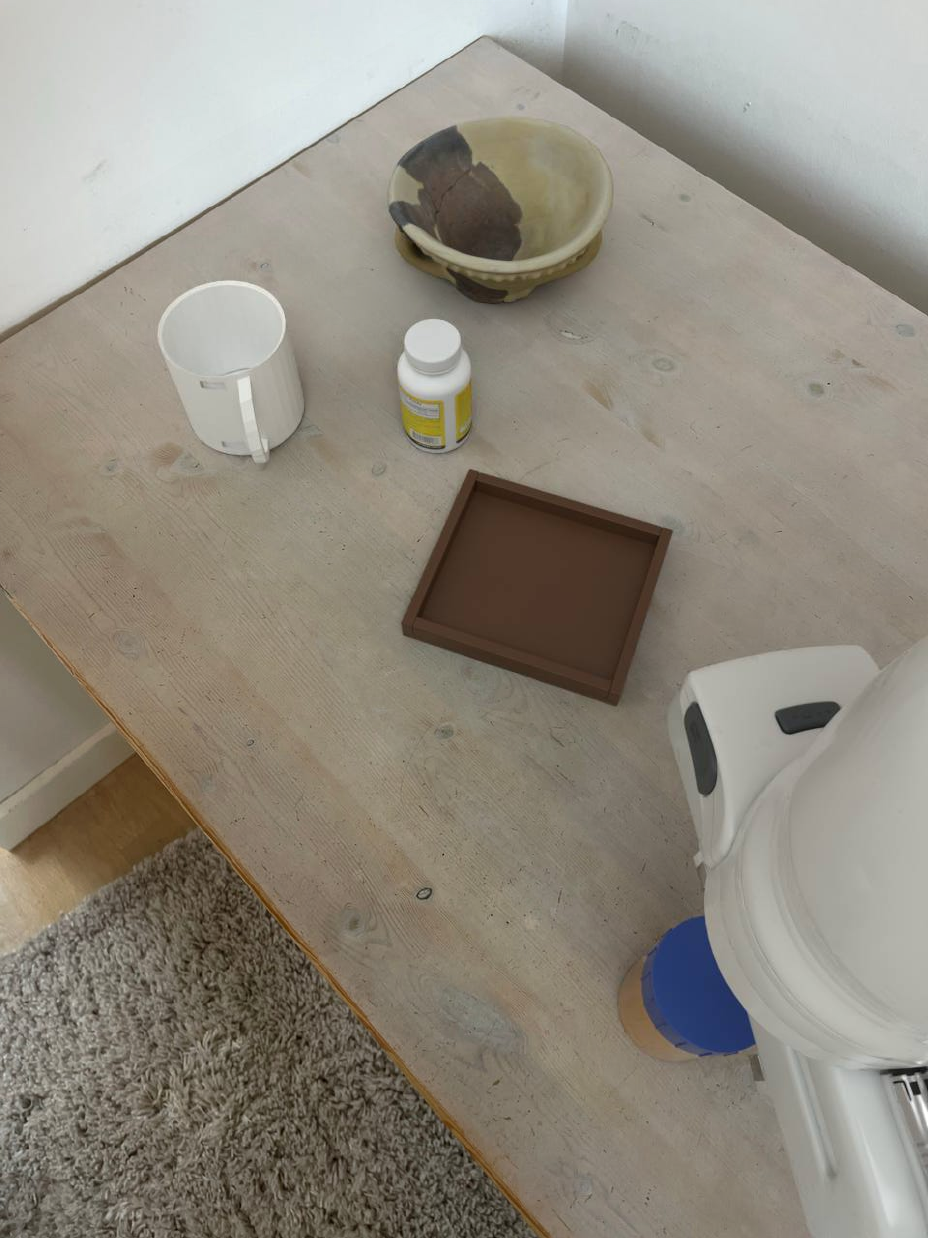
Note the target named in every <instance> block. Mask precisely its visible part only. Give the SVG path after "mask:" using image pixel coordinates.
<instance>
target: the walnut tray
mask: <svg viewBox="0 0 928 1238" xmlns="http://www.w3.org/2000/svg"><path fill="white" fill-rule="evenodd" d="M673 532H674V530H673V529H671V528H667V527H665V526H660V525H657V524H654V523H650V522H647V521H644V520H640V519H637V518H633V517H630V516H628V515H624V514H621V513H618V512H615V511H610V510H607V509H604V508H601V507H599V506H598V507H597V506H594V505H591V504H587V503H584V502H581V501H578V500H574V499H571V498H568V497H564V496H561V495H558V494H554V493H551V492H548V491H545V490H542V489H541V490H540V489H538V488H534V487H531V486H528V485H524V484H521V483H518V482H515V481H511V480H509V479H505V478H502V477H498V476H494V475H491V474H488V473H485V472H481V471H478V470H475V469H473V468H468V471H467V472H466V475H465V477H464V480H463V482H462V484H461V486H460V489H459V491H458V494H457V496H456V498H455V500H454V502H453V504H452V507H451V508H450V511H449V514H448V516H447V517H446V520H445V522H444V525H443V527H442V530H441V531H440V534H439V536H438V539H437V540H436V543H435V545H434V548H433V550H432V552H431V553H430V557H429V559H428V561H427V564H426V566H425V567H424V570H423V572H422V575H421V577H420V579H419V581H418V584H417V586H416V587H415V591H414V593H413V595H412V597H411V599H410V601H409V604H408V606H407V608H406V611H405V613H404V615H403V617H402V620H401V631H402V635H403V636H404V637H407V638H410V639H412V640H416V641H419V642H422V643H425V644H428V645H431V646H434V647H437V648H440V649H443V650H446V651H448V652H452V653H455V654H458V655H461V656H464V657H468V658H470V659H472V660H476V661H478V662H481V663H485V664H487V665H491V666H495V667H496V668H500V669H503V670H506V671H509V672H512V673H515V674H517V675H521V676H524V677H527V678H530V679H533V680H536V681H539V682H542V683H545V684H548V685H551V686H554V687H557V688H559V689H563V690H565V691H569V692H571V693H574V694H577V695H581V696H583V697H587V698H589V699H593V700H596V701H599V702H602V703H604V704H608V705H611V706H614V707H617V706H618V704H619V701H620V698H621V695H622V693H623V691H624V687H625V683H626V680H627V677H628V673H629V671H630V669H631V664H632V662H633V658H634V655H635V653H636V649H637V646H638V642H639V640H640V636H641V633H642V631H643V627H644V623H645V621H646V618H647V615H648V611H649V608H650V605H651V601H652V599H653V595H654V592H655V589H656V585H657V583H658V580H659V576H660V573H661V570H662V567H663V564H664V561H665V558H666V554H667V551H668V548H669V545H670V542H671V539H672V536H673Z"/></svg>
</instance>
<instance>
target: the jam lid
mask: <svg viewBox="0 0 928 1238" xmlns="http://www.w3.org/2000/svg"><path fill="white" fill-rule="evenodd" d="M648 952H649V953H648ZM648 952H647V953H648V954H647V953H646V954H647V955H646V954H645V955H646V956H647V959H646V961H645V964H644V967H643V971H642V977H641V978H640V980H641V991H642V997H643V1002H644V1004H643V1006H645V1009H646V1011H647V1013H648V1016H649V1018H650V1019H651V1021H652V1023H653V1025H654V1026H655V1027H656V1028H655V1029H656V1030H658V1031H659V1032H660V1033H661V1034H662V1036H663V1037H664V1038H665V1039H667V1040H668V1041H669V1042H670V1043H672V1044H673V1045H675V1048H679V1049H681V1050H684V1051H686V1052H688V1053H691V1054H695V1055H699V1057H700V1058H704V1057H718V1056H723V1057H728V1056H733V1055H738V1054H739V1052H741V1051H745V1050H747V1049H750V1048H752V1047H754V1046H755V1045H756V1042H755V1038H754V1035H753V1031H752V1028H751V1024H750V1021H749V1017H748V1013H747V1011H746V1009H745V1008H744V1007H743V1006H742V1004H741V1003H740V1002H739V1001H738V999H737V998H736V997H735V995H734V994H733V992H732V990H731V989H730V987H729V986H728V984H727V983H726V981H725V979H724V977H723V975H722V973H721V971H720V969H719V967H718V964H717V962H716V959H715V957H714V954H713V952H712V948H711V945H710V941H709V938H708V933H707V928H706V922H705V915H699V916H698V915H697V916H694V917H690V918H689V919H686V920H683V921H682V922H680V923H678V924H677V925H676V926H674V927H673V928H672V927H670V928H669V929H668V930H667V931H666V932H664V933H663V934H662V935H661V936H660V939H659V940H658V941H657V942H656V943H655V944H654V945H653V947H652V948H651V950H649V951H648Z"/></svg>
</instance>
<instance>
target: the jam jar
mask: <svg viewBox="0 0 928 1238" xmlns="http://www.w3.org/2000/svg"><path fill="white" fill-rule="evenodd" d="M649 952H650V951H648V952H647V953H646V954H645V955H643V957H641V958H640V959H639V960H638V961H637V962H635V964H633V965H632V966H631V967H630V968H629V969H628V971H627V972H626V973H625V975H624V977H623V979H622V981H621V983H620V986H619V990H618V995H617V996H618V997H617V1009H618V1016H619V1020H620V1022H621V1025H622V1028H623V1030H624V1032H625V1034H626V1035H627V1037H628V1038H629V1040H630V1041H631V1042H632V1043H633V1044H634V1045H635V1046H636V1047H637V1048H638V1049H639V1050H640V1051H641V1052H642V1053H644V1054H646V1055H647V1056H649V1057H650V1058H653V1059H655V1060H658V1061H661V1062H667V1063H680V1062H686V1061H690V1060H695V1059H700V1058H701V1057H699V1055H695V1054H691V1053H688V1052H686V1051H684V1050H681V1049H679V1048H675V1045H673V1044H672V1043H670V1042H669V1041H668V1040H667V1039H665V1038H664V1037H663V1036H662V1034H661V1033H660V1032H659V1031H658V1030H656V1029H655V1028H656V1027H655V1026H654V1025H653V1023H652V1021H651V1019H650V1018H649V1016H648V1013H647V1011H646V1009H645V1006H643V1004H644V1002H643V997H642V991H641V980H640V978H641V977H642V971H643V967H644V964H645V961H646V959H647V956H646V955H647V954H648V953H649Z"/></svg>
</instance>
